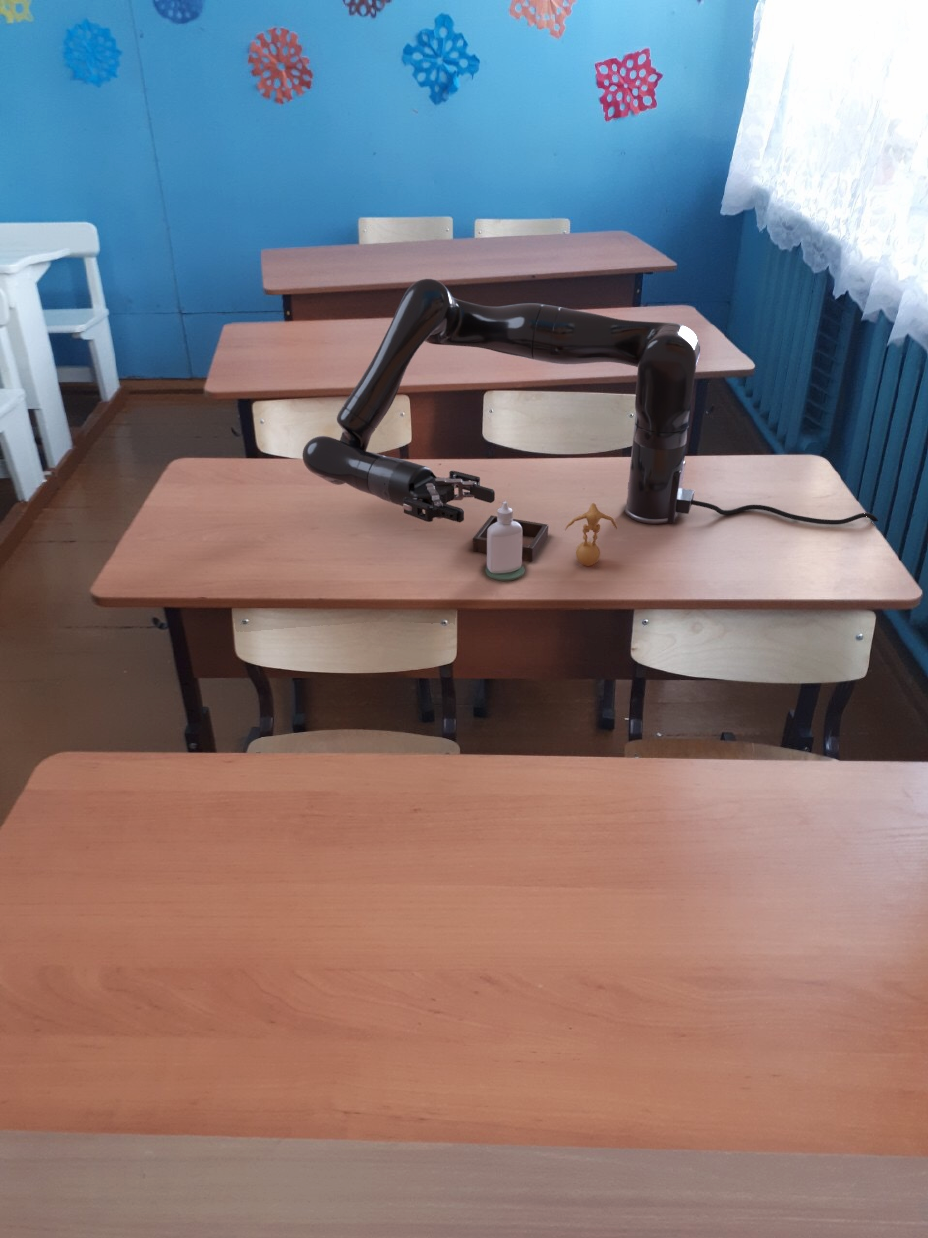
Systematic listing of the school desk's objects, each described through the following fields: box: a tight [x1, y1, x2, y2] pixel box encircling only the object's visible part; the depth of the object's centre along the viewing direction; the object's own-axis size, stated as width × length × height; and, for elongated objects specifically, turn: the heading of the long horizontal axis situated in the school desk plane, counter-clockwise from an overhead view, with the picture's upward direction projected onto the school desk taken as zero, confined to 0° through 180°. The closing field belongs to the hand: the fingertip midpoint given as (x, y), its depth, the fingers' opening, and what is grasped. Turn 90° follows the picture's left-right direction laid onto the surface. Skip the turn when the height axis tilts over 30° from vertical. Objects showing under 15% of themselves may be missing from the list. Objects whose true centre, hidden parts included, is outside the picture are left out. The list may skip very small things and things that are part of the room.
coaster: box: [485, 564, 525, 582], centre depth 143 cm, size 6×6×1 cm
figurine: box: [564, 502, 618, 567], centre depth 141 cm, size 8×6×12 cm
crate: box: [472, 515, 549, 562], centre depth 150 cm, size 11×9×2 cm
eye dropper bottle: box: [486, 500, 523, 574], centre depth 140 cm, size 4×6×12 cm
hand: (478, 506), depth 141 cm, fingers open, 8 cm apart
